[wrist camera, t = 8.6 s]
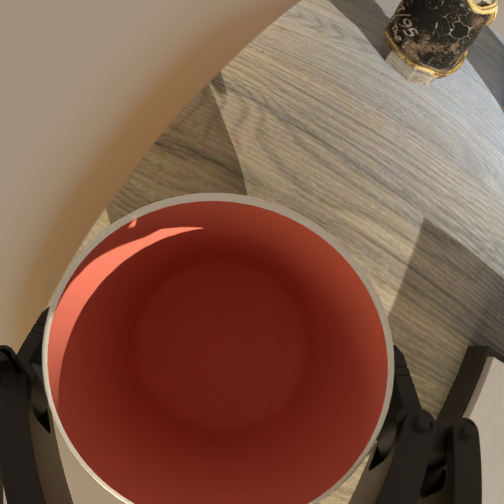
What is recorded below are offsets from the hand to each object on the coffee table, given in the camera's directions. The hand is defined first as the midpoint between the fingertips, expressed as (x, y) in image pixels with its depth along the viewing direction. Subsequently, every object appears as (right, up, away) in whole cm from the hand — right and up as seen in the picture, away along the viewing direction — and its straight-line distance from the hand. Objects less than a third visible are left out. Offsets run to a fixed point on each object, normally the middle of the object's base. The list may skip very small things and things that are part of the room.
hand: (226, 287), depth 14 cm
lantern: (+18, +22, +12) cm, 31 cm away
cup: (-1, -4, +3) cm, 5 cm away
